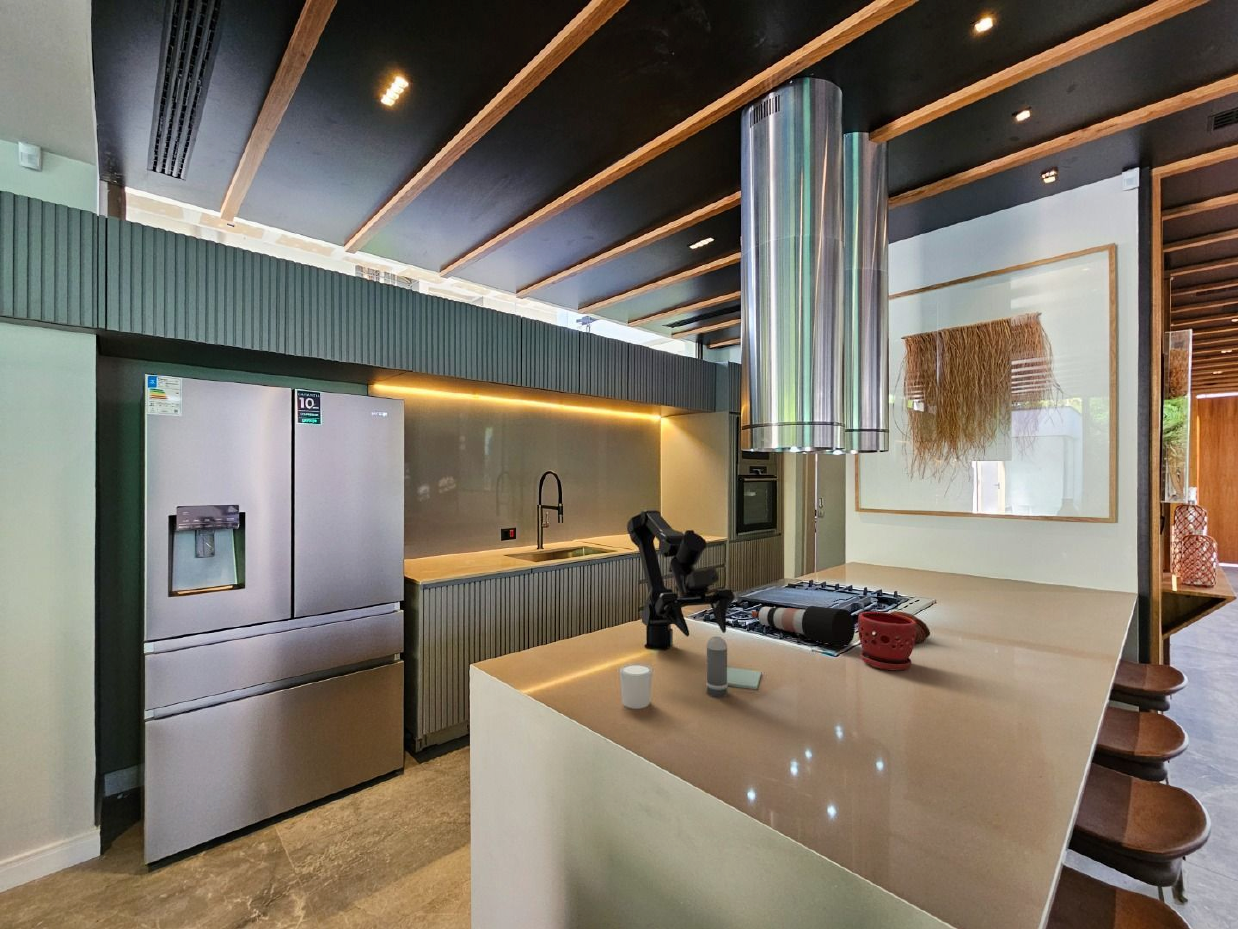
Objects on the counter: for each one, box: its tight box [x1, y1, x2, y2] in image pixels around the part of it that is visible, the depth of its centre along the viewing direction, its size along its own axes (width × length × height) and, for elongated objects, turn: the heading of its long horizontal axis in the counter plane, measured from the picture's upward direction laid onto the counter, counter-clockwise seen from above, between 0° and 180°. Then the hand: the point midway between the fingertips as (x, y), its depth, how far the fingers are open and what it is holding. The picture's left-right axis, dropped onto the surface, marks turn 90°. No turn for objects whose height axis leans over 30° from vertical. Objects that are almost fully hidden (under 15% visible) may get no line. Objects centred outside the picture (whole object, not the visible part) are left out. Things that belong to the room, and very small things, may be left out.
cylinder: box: [705, 636, 729, 698], centre depth 119 cm, size 5×5×12 cm
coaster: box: [727, 666, 762, 690], centre depth 127 cm, size 10×10×1 cm
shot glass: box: [619, 663, 653, 710], centre depth 114 cm, size 7×7×7 cm
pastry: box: [890, 611, 931, 645], centre depth 159 cm, size 17×15×8 cm
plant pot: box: [857, 611, 916, 671], centre depth 137 cm, size 13×13×12 cm
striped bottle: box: [750, 605, 856, 647], centre depth 163 cm, size 10×34×10 cm, turn 32°
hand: (706, 633), depth 124 cm, fingers open, 9 cm apart
